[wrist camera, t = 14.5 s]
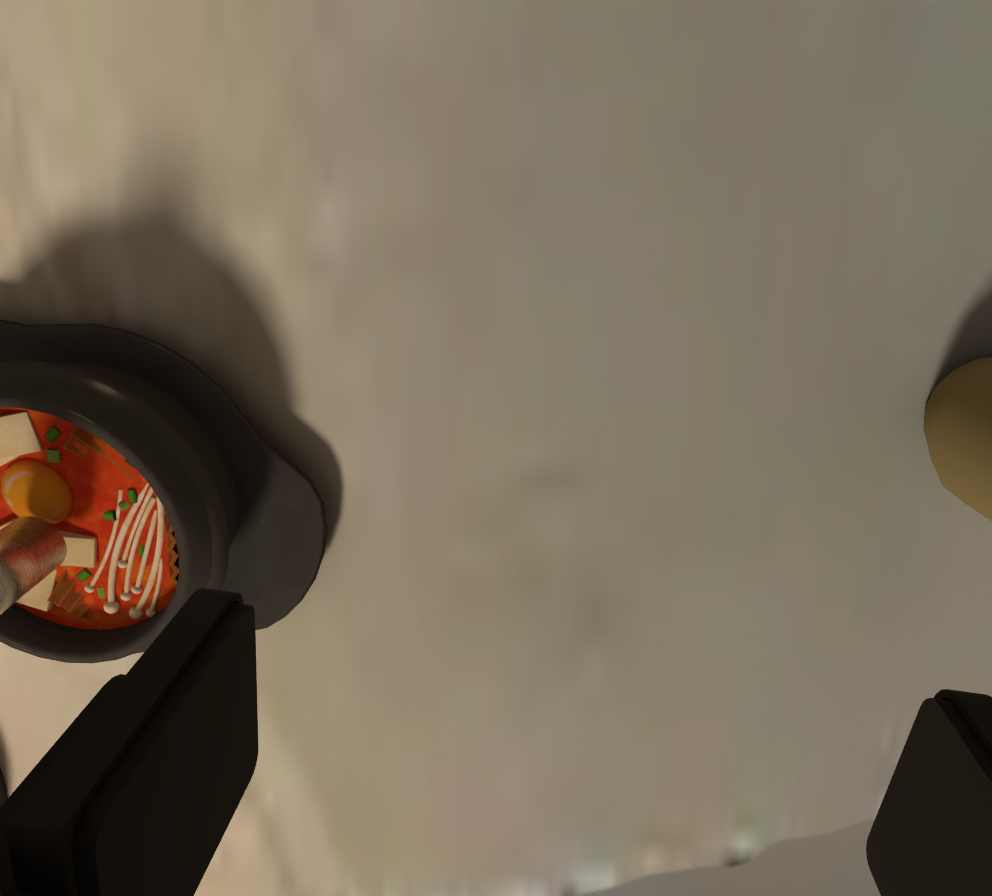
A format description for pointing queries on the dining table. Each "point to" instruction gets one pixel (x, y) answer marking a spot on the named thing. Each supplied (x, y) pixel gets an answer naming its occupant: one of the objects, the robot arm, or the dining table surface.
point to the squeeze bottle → (963, 433)
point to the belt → (2, 791)
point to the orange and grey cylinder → (27, 556)
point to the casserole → (141, 492)
